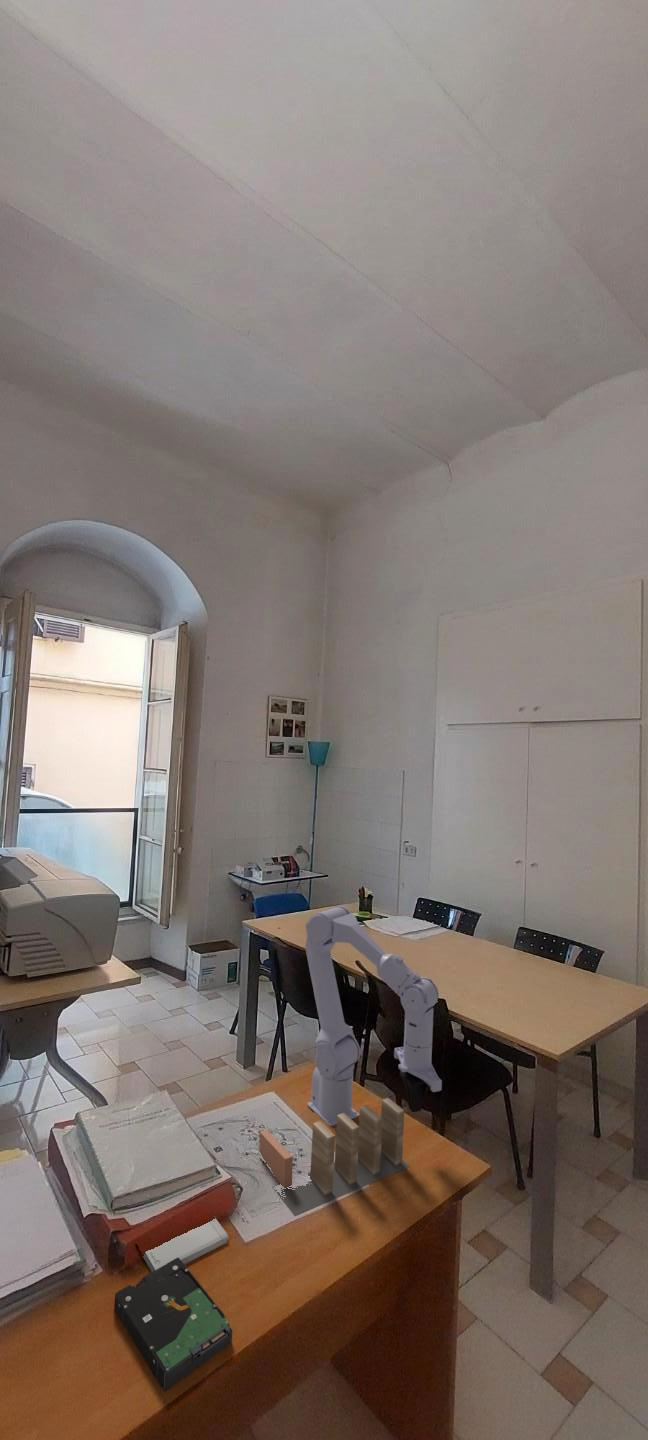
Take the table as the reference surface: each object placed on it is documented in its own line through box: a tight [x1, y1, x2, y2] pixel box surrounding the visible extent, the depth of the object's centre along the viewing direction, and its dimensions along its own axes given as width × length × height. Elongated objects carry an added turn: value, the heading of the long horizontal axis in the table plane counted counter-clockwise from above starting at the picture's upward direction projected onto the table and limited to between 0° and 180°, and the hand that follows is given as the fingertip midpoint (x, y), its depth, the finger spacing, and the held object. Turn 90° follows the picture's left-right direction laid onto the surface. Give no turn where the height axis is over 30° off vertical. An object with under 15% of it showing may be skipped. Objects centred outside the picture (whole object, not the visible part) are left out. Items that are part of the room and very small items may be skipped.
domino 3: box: [334, 1113, 359, 1185], centre depth 117 cm, size 2×5×10 cm, turn 34°
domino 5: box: [380, 1097, 405, 1166], centre depth 123 cm, size 2×5×10 cm, turn 34°
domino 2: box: [309, 1120, 336, 1195], centre depth 114 cm, size 2×5×10 cm, turn 33°
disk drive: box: [113, 1258, 233, 1392], centre depth 85 cm, size 10×3×15 cm
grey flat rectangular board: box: [273, 1153, 411, 1217], centre depth 116 cm, size 8×26×1 cm, turn 124°
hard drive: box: [142, 1217, 229, 1273], centre depth 99 cm, size 2×8×12 cm
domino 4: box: [358, 1104, 382, 1175], centre depth 120 cm, size 2×5×10 cm, turn 34°
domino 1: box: [258, 1129, 294, 1188], centre depth 117 cm, size 2×5×10 cm
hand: (415, 1109), depth 126 cm, fingers closed
